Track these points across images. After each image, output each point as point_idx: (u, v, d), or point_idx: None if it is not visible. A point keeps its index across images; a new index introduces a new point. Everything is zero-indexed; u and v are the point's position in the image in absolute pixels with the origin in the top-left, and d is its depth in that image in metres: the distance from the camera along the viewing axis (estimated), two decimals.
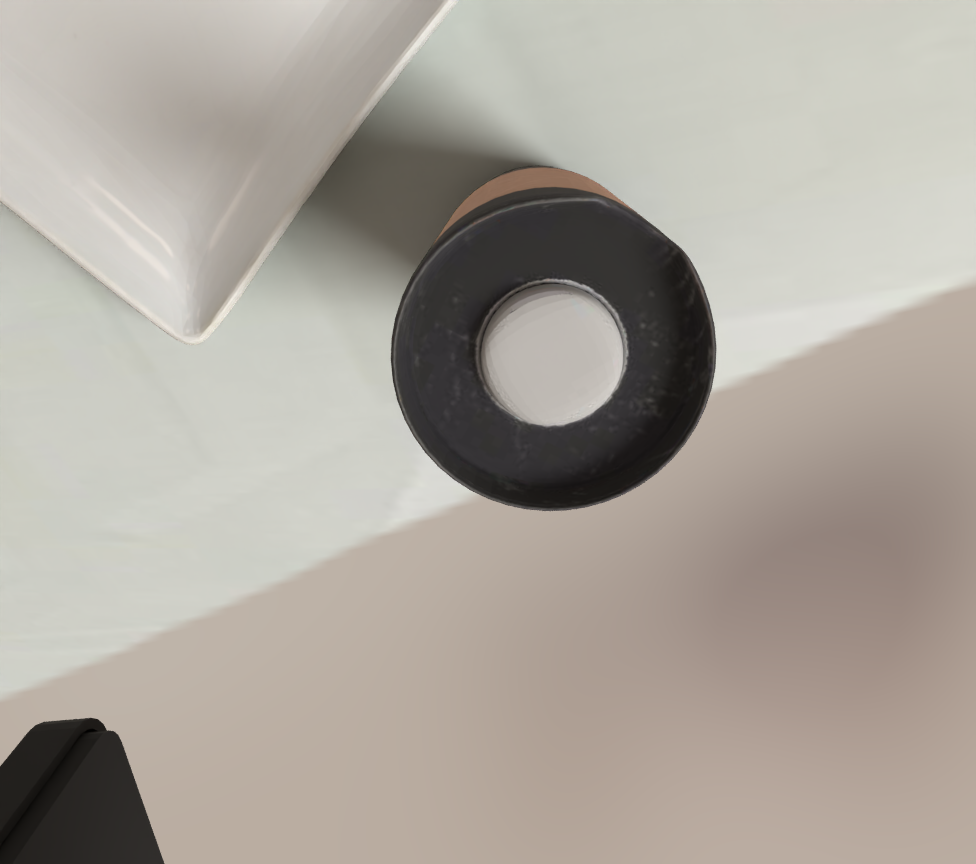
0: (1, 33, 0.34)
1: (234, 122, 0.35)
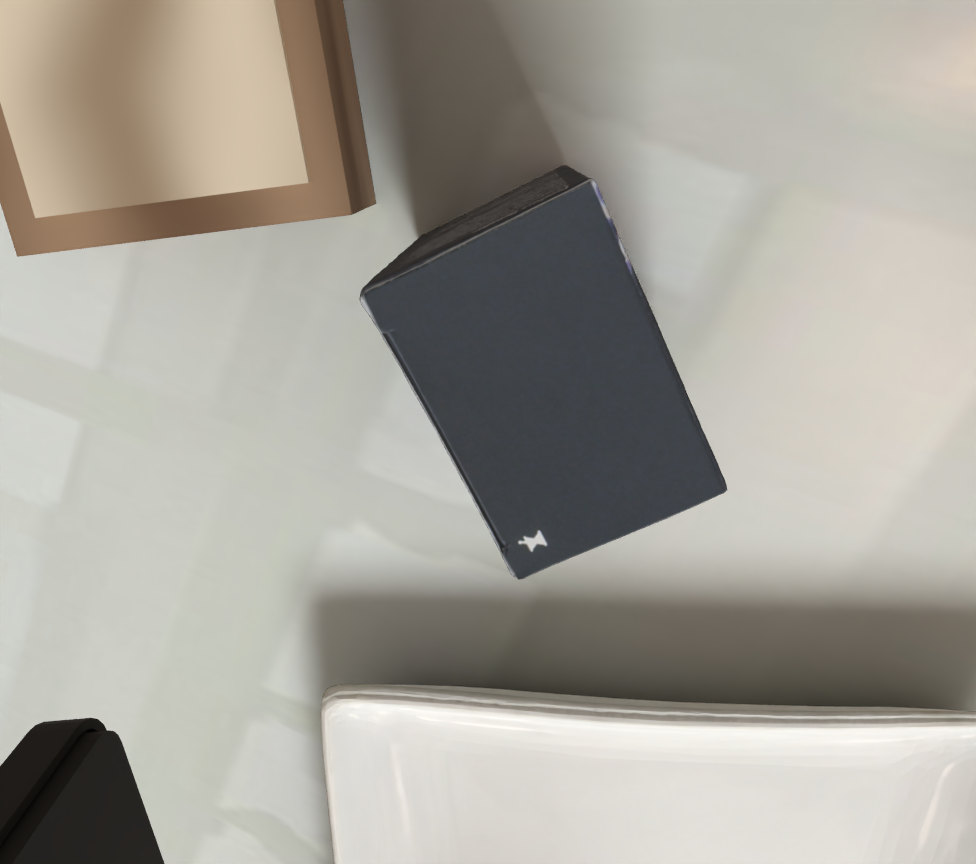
0: None
1: None
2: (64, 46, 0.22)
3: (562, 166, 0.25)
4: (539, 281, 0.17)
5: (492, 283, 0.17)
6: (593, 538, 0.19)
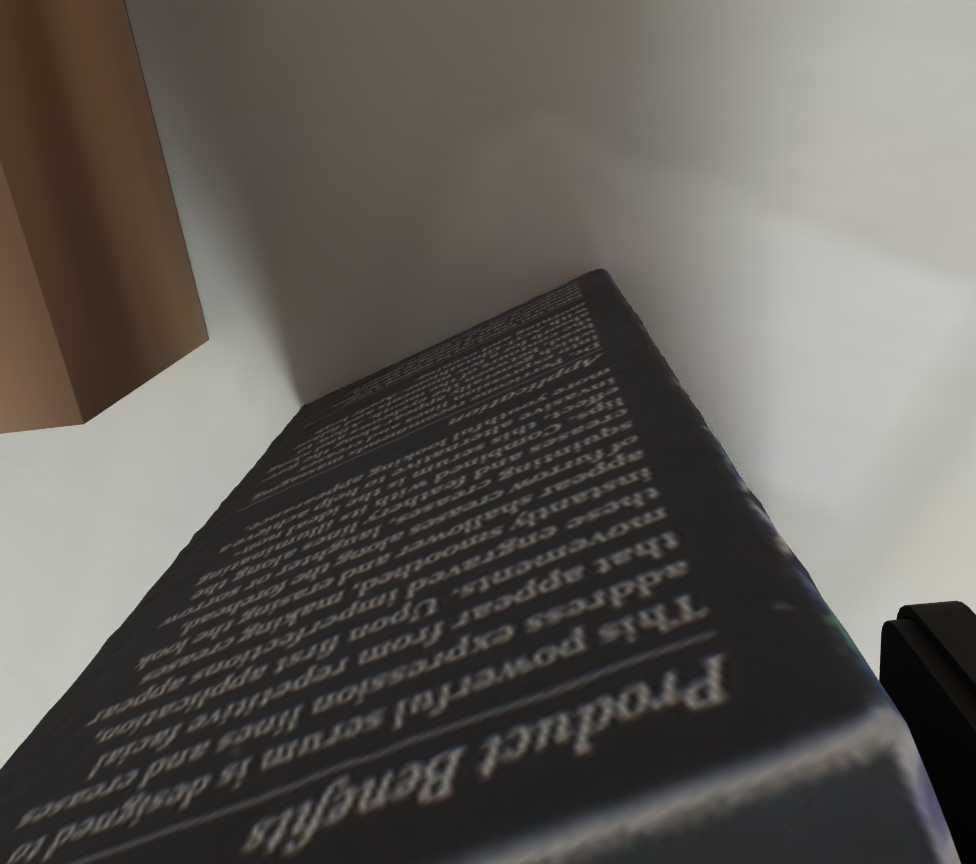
0: None
1: None
2: None
3: (596, 275, 0.12)
4: None
5: None
6: None
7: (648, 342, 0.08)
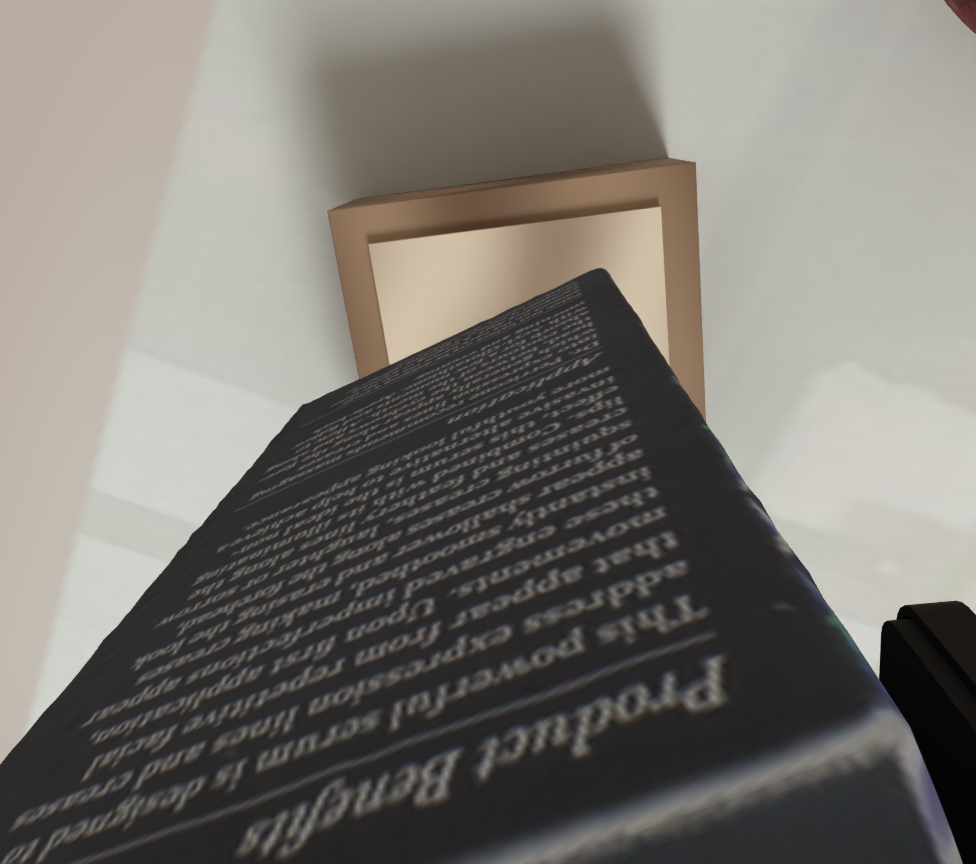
0: None
1: None
2: None
3: (596, 274, 0.12)
4: None
5: None
6: None
7: (648, 341, 0.08)
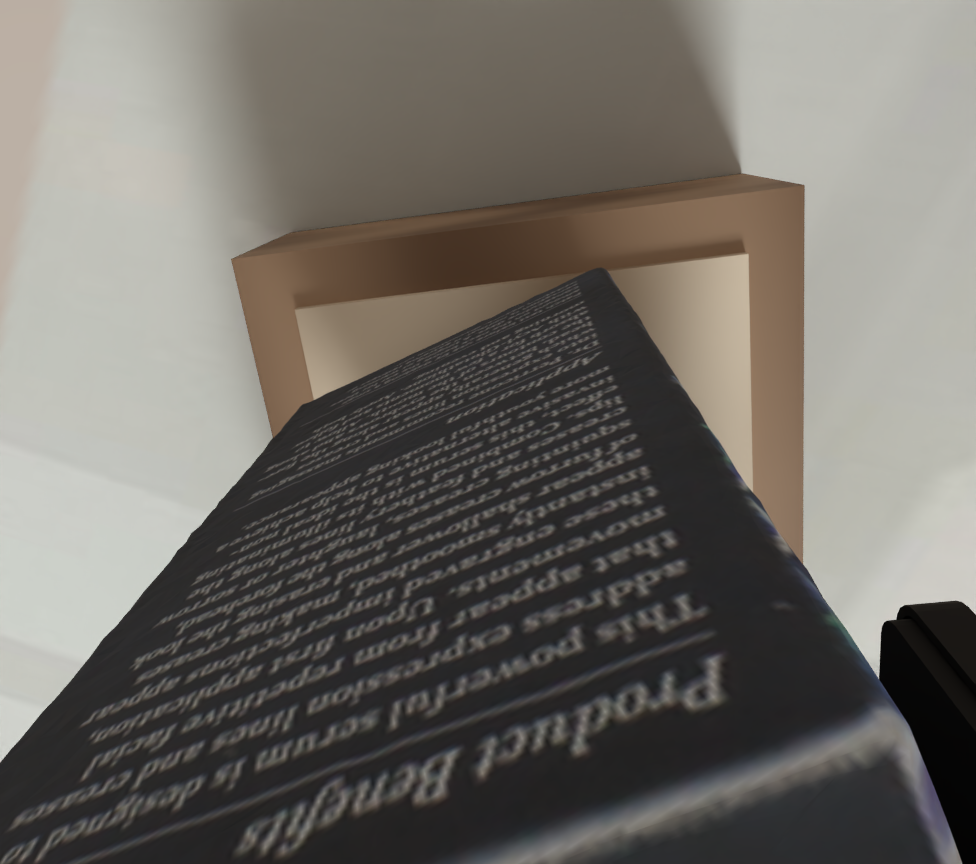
0: None
1: None
2: None
3: (596, 274, 0.12)
4: None
5: None
6: None
7: (647, 340, 0.08)
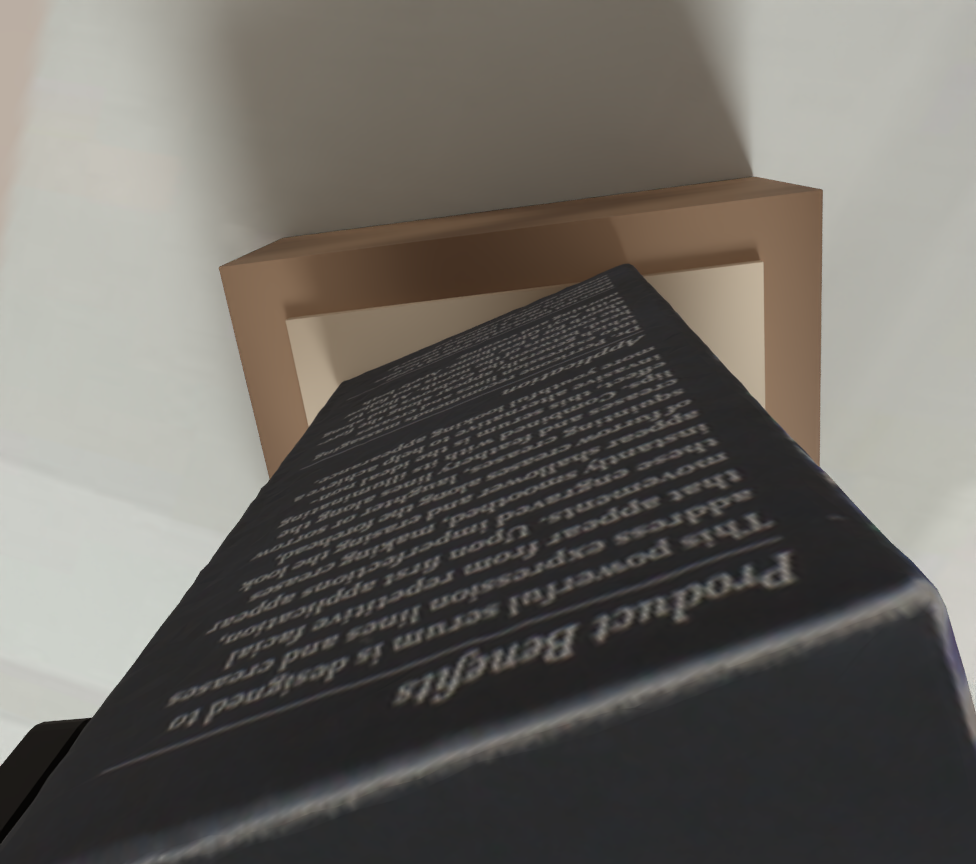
0: None
1: None
2: None
3: (625, 269, 0.12)
4: None
5: None
6: None
7: (686, 326, 0.09)
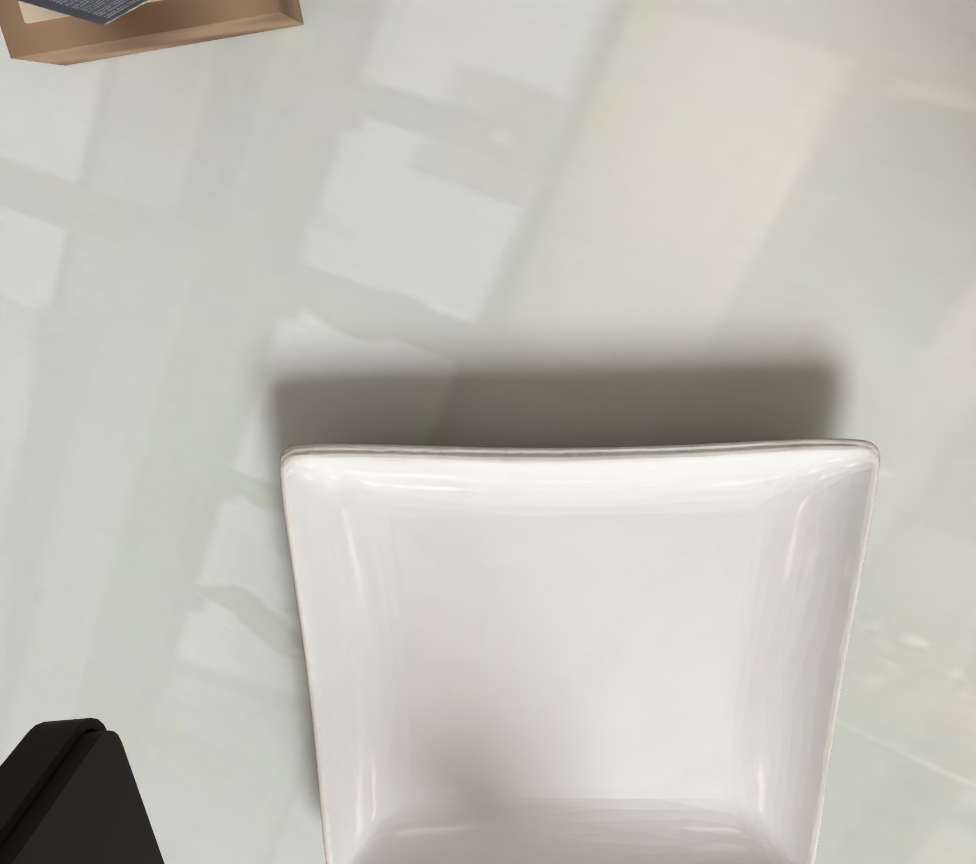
0: (411, 655, 0.43)
1: (484, 795, 0.46)
2: None
3: None
4: None
5: None
6: None
7: None
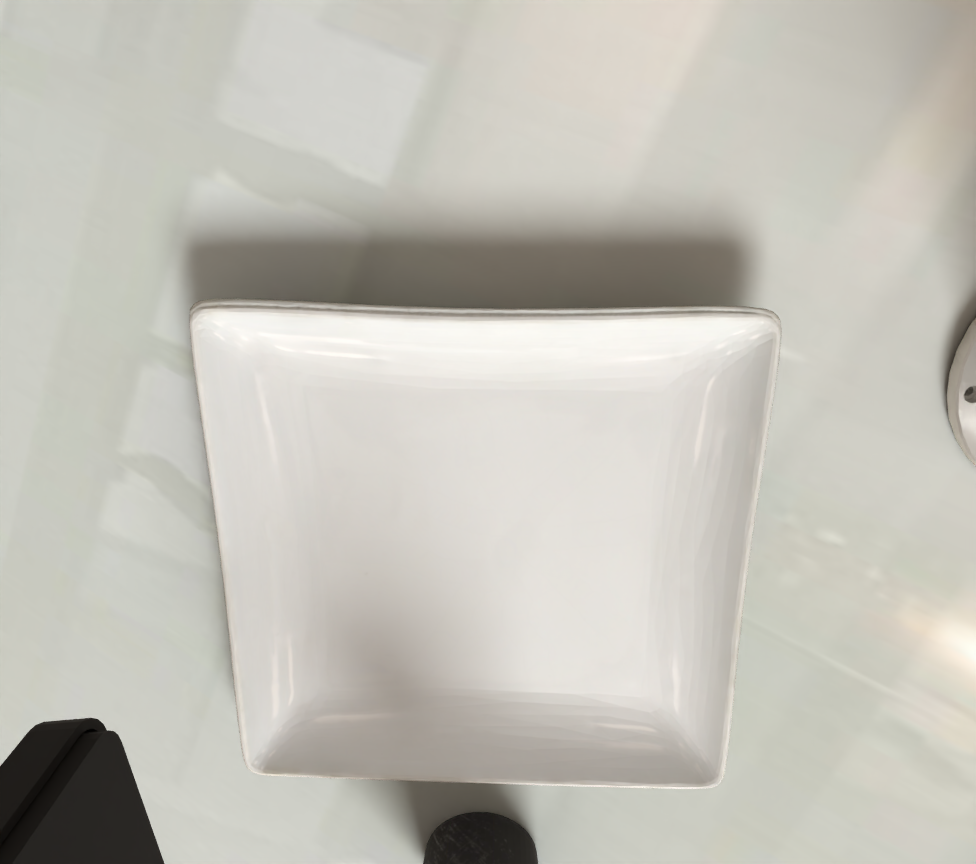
0: (327, 533, 0.43)
1: (400, 683, 0.47)
2: None
3: None
4: None
5: None
6: None
7: None
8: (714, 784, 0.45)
